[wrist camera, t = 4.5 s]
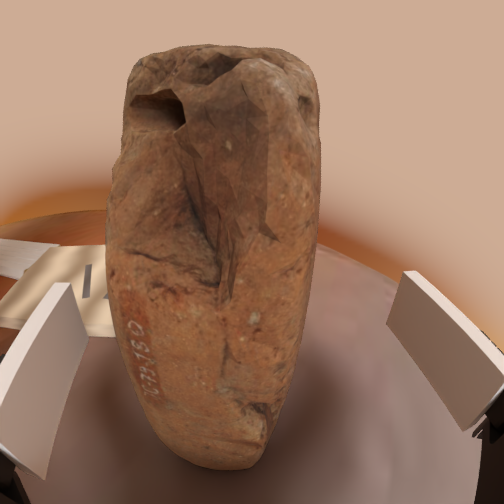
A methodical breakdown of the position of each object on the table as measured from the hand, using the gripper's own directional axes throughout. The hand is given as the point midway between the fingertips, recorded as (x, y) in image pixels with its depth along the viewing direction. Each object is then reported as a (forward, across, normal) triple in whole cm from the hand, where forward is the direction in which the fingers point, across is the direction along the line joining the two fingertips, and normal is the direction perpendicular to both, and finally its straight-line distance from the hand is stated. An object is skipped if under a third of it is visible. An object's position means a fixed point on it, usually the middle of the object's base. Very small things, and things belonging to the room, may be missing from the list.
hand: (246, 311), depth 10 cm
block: (+3, -1, -11) cm, 11 cm away
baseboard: (+29, -43, -12) cm, 53 cm away
